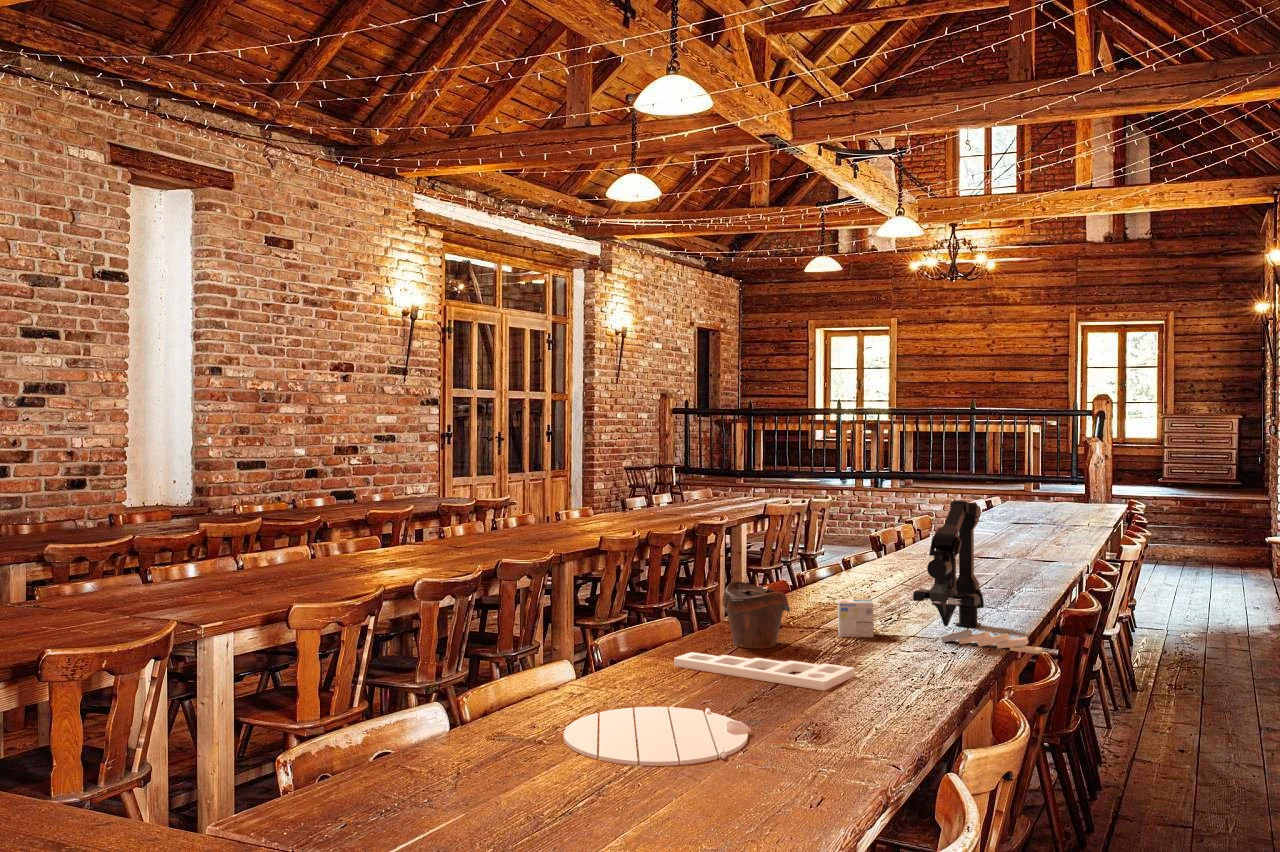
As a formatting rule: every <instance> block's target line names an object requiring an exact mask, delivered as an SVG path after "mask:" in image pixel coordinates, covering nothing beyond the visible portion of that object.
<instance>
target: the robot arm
mask: <svg viewBox="0 0 1280 852" xmlns="http://www.w3.org/2000/svg"><path fill="white" fill-rule="evenodd" d="M949 508H950V509H949V511H948V514H947V517H946V518H945V522H944V524H943V526H941V527H939V528H937V530H936V531H935V533H934V535H933V536H932V539H931V543H930V548H929V554H928V555H929V556H931V557H933V559H931V560H930V561H929V562H928V564H927V566H926V569H927V573H928V575H929V576H930V577H931V578H933V579H934V584H933V585H932V586H931V588H930V589H923V588H919V589H917V590H914V591H913V593H912V600H913V601H916V602H923V601H925V600H926V599H929V600H930V602H931V606H934V607H935V608H936V609H937V612H938V613H939V616H940V618H941V621H942V624H943V626H944V627H948V626H949V624H950V622H951V619H952V616H953V615H954V611H955V610H956V609H957V607H958V622H957V623H955V626H957V627H964V628H972V629H973V628H975V629H976V628H977V627H979V626H981V625H982V622H981V623H980V622H978V610H979V609H984V607H985V603H984V602H985V601H984V597H983V593H982V589H980V582H979V581H978V579H977V578H976V576H975V557H974V556H975V552H974V551H975V548H974V547H975V545H974V544H975V543H974V541H975V539H974V537H975V535H974V534H975V533H974V531H975V529H976V526H977V525H978V524H979V522H980V517H981V515H982V514H981V513H982V512H981V507H980V505H978V504H977V503H975V502H969V501H966V500H957V499H956V500H952V501H950V506H949ZM957 556H958V569H959V570H958V574H959V575H958V577H957V559H956V558H957Z"/></svg>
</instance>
